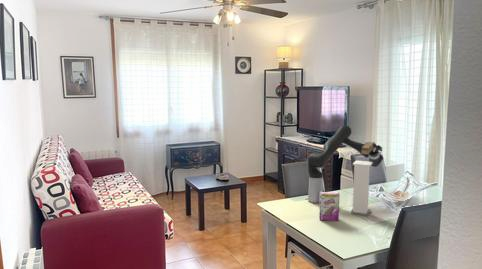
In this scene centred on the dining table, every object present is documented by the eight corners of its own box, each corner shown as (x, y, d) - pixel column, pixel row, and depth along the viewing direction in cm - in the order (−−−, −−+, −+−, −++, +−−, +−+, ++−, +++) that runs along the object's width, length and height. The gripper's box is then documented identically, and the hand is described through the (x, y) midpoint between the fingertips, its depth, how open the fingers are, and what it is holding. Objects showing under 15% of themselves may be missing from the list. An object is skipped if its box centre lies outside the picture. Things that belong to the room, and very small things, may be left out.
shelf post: (367, 216, 222) (369, 165, 217) (350, 213, 226) (352, 163, 222) (370, 211, 230) (372, 161, 226) (354, 208, 235) (356, 160, 231)
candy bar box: (319, 220, 215) (320, 194, 213) (318, 217, 220) (319, 191, 218) (339, 221, 214) (339, 194, 212) (337, 218, 219) (338, 191, 217)
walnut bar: (368, 154, 227) (368, 148, 227) (361, 153, 229) (361, 147, 229) (374, 147, 248) (374, 142, 248) (368, 147, 250) (368, 141, 250)
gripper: (363, 146, 263) (360, 138, 249) (384, 148, 256) (382, 139, 242) (362, 156, 261) (358, 148, 247) (383, 158, 254) (380, 150, 240)
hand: (370, 144), depth 244 cm, fingers closed on walnut bar, 4 cm apart
